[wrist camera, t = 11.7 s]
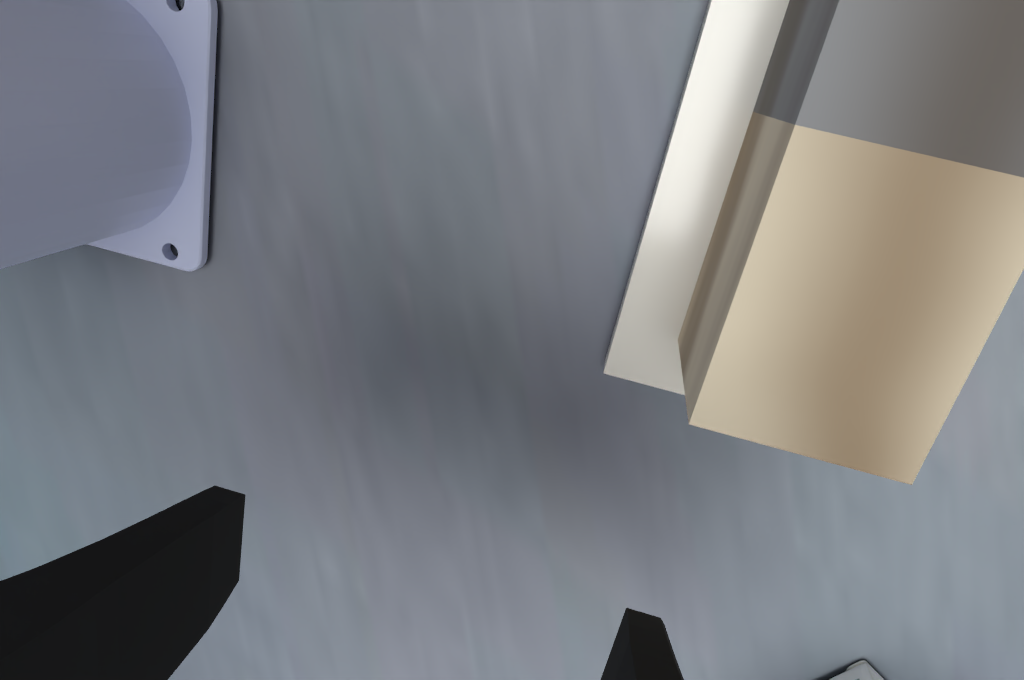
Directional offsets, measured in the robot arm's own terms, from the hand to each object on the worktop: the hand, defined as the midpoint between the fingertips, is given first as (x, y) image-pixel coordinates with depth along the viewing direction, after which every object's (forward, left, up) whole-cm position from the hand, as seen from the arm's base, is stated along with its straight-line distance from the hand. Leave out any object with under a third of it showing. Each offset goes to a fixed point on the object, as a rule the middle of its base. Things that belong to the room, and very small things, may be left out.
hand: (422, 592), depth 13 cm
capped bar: (+6, +8, -8) cm, 13 cm away
